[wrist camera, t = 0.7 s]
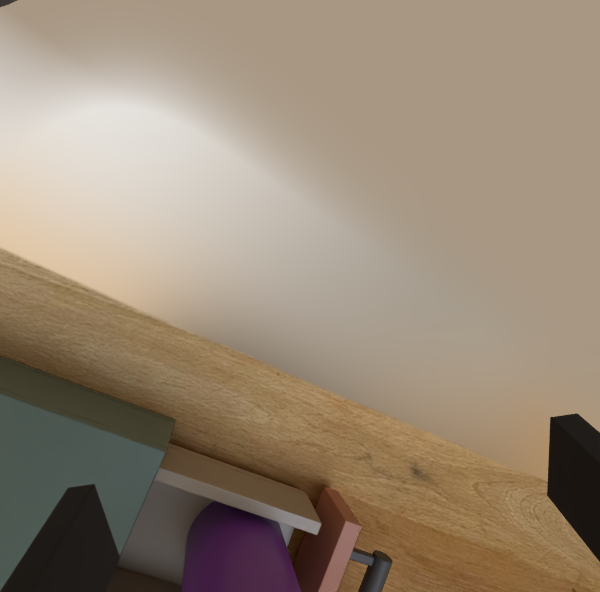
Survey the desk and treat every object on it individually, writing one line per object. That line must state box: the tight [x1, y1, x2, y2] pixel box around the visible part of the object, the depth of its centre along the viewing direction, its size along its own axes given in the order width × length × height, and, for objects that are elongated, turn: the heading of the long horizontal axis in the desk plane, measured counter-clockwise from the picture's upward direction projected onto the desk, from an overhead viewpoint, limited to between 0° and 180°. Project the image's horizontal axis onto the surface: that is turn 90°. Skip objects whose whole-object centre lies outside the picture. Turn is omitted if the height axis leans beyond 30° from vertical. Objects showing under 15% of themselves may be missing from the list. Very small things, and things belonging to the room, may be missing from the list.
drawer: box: [106, 443, 392, 592], centre depth 28 cm, size 20×10×5 cm, turn 67°
